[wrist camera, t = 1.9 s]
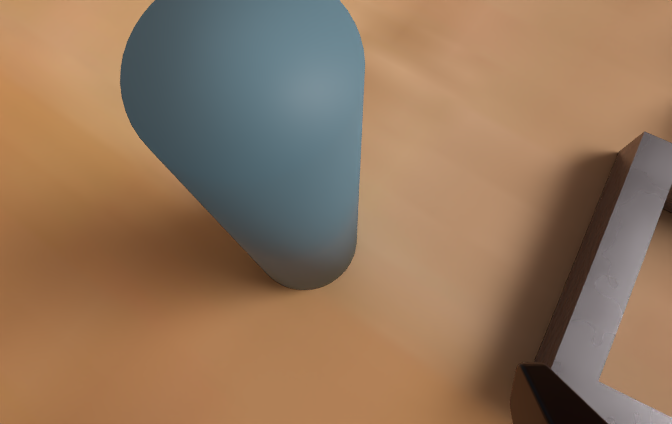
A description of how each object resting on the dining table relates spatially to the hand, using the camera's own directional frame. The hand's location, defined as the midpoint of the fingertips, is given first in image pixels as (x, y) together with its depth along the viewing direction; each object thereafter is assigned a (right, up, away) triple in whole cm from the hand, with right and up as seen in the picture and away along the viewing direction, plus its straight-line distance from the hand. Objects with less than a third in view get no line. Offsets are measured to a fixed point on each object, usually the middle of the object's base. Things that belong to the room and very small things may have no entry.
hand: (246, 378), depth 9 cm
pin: (0, +2, +12) cm, 12 cm away
